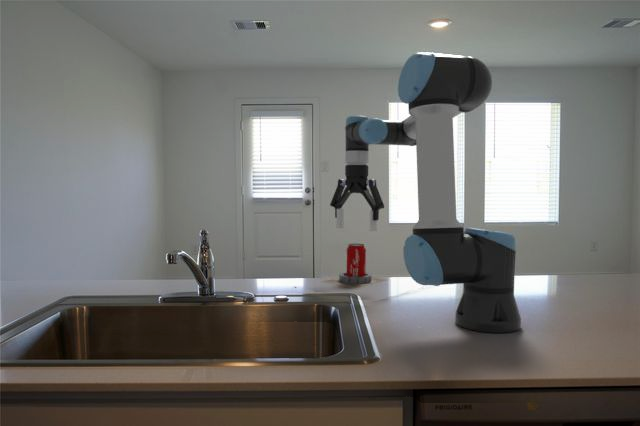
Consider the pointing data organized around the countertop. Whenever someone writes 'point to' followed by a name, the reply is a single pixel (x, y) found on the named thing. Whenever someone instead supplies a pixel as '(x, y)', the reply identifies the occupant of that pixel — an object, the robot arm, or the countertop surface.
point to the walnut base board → (336, 281)
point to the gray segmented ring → (355, 278)
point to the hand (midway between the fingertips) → (356, 229)
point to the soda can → (356, 260)
